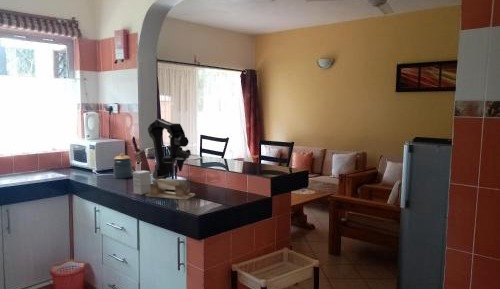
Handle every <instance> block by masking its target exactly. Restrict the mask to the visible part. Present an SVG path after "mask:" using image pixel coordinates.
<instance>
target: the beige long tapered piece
mask: <svg viewBox="0 0 500 289" xmlns="http://www.w3.org/2000/svg"><path fill="white" fill-rule="evenodd" d="M150 190H151V193H146V194H144V196H145V197H149V198H159V199H160V198H161V199H162V198H164V199H172V200H176V199H177V200H188V199H190V198H192V197H195V196H196V193H192V192H190V191H191V190H190V182H187V190H184V191H183V185H176V186H175V190H174V191H166V189H158V184H153V183H151V184H150Z"/></svg>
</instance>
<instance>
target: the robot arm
mask: <svg viewBox="0 0 500 289" xmlns="http://www.w3.org/2000/svg"><path fill="white" fill-rule="evenodd" d="M164 130H166V132H167V133H168V134H169V135H168V138H169V147H168V150H169V154H168V156H164V148H163V144H162V143H163V142H162V136H163V132H164ZM147 132H148V135H149V137H150V138H151V139H152V141H153V148H154V154H155V161H156V163H155V166H154V172H153V174H152V178H153V179H169V178H170V174H171V175H174V165H175V164H177V168H178V171H179V172H182V169H183V167H184V164H185V162H186V161H187V160H188V159H189V158H190V156H191V155H192V152H191V150H190V149H186V150H183V148H186V147H187V146H188V145H189V138H188V137H187V136H186V133H185V130H184V129H183V126H182V125H181V123H175V122H170V121H168V120H166V119H164V118H156V119H155V120H154V121H153V122H152V123H151V124H149V126H148V127H147ZM153 179H152V180H153Z"/></svg>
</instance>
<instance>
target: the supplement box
mask: <svg viewBox="0 0 500 289" xmlns="http://www.w3.org/2000/svg"><path fill="white" fill-rule="evenodd" d="M151 176H152V175H151V171H149V170H137V171H132V180H133V194H136V195H146V194H148V193H151V190H150V184H152V178H151Z"/></svg>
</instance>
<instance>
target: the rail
mask: <svg viewBox="0 0 500 289" xmlns="http://www.w3.org/2000/svg"><path fill="white" fill-rule="evenodd" d="M187 183H188V180H186V179H185V180H184V179H173V178H172V179H169V178H166V179H152V184H158V189H165V190H169V191H170V190H172V191H175V186H176V185H183V191H184V190H187Z"/></svg>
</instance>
